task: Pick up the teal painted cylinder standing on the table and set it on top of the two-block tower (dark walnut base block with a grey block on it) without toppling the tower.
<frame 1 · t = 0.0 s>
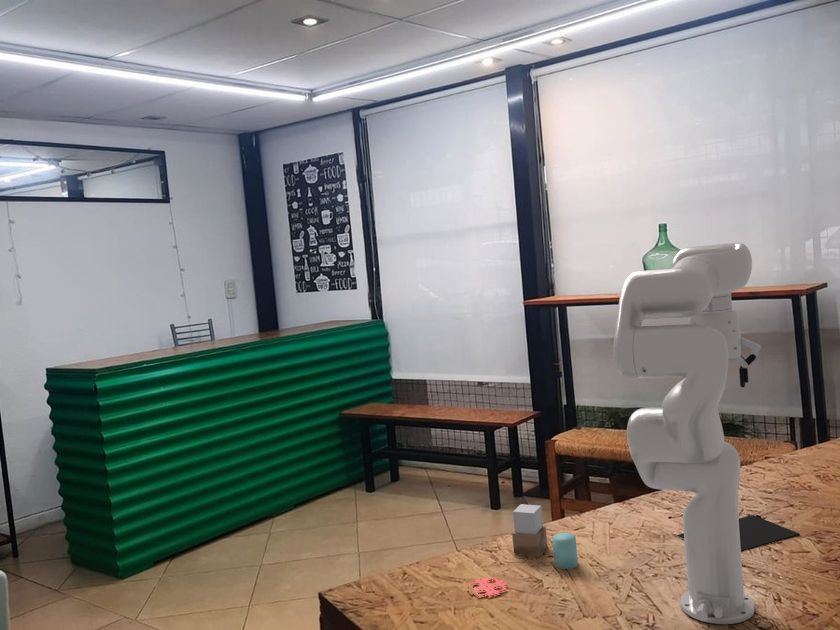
hand: (717, 386, 151), 37 cm above the table, tool pointing down, fingers open, 9 cm apart
teal cylinder: (566, 564, 158), on the table
grey top block: (529, 529, 167), point 5 cm above the table, touching walnut base block
walnut base block: (530, 550, 167), on the table, touching grey top block
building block: (487, 591, 150), on the table
black flat plate: (735, 538, 164), on the table
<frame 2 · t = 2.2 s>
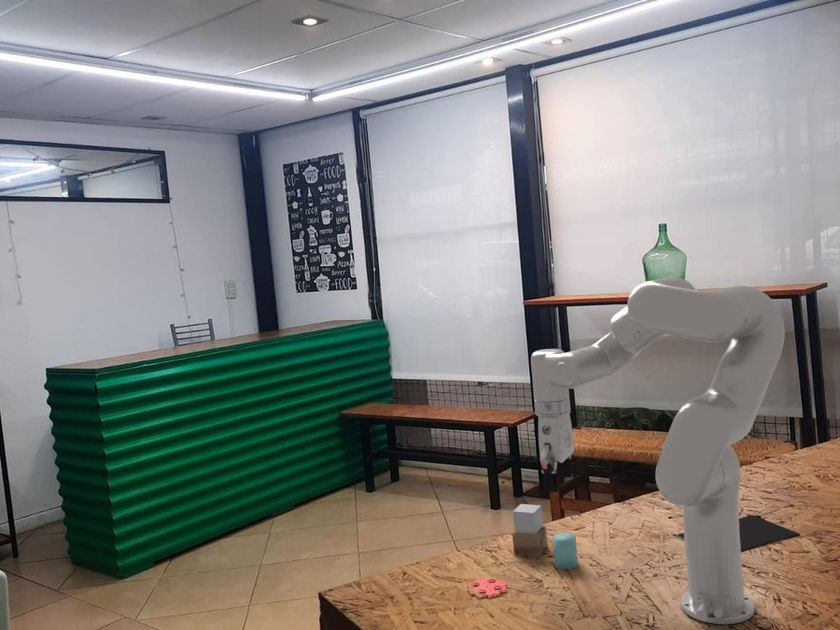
hand: (558, 483, 157), 18 cm above the table, tool pointing down, fingers open, 9 cm apart
nothing on the table moved.
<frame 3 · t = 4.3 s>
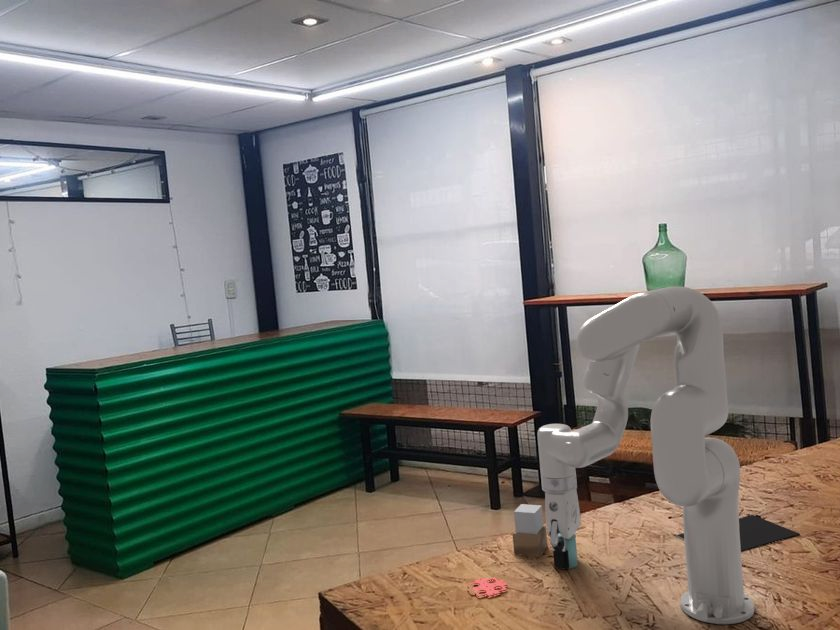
hand: (565, 561, 158), 0 cm above the table, tool pointing down, fingers closed on teal cylinder, 4 cm apart
teal cylinder: (566, 563, 158), on the table, touching gripper
everything else where it was.
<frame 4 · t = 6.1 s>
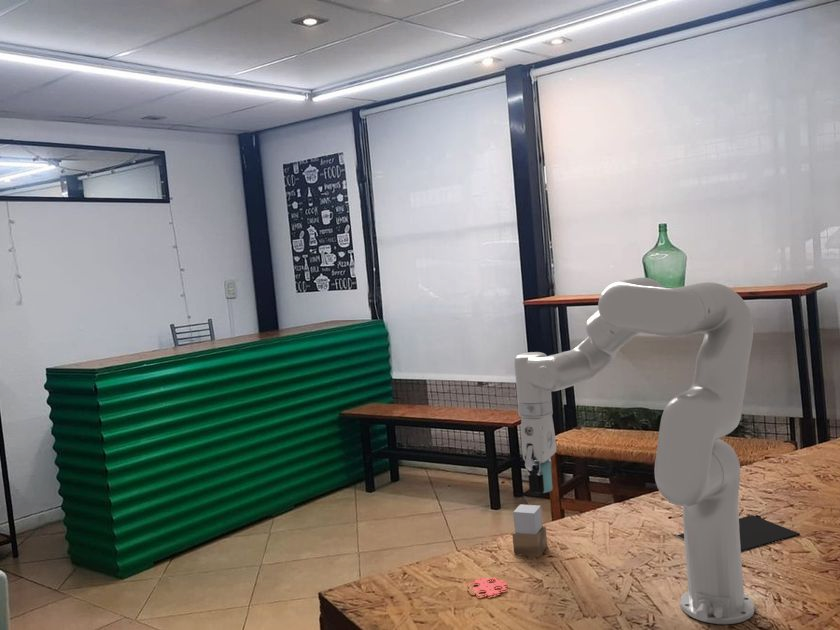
hand: (541, 487, 161), 16 cm above the table, tool pointing down, fingers closed on teal cylinder, 4 cm apart
teal cylinder: (541, 489, 161), point 16 cm above the table, touching gripper
everything else where it was.
when the fingers open (11 cm above the table, at t = 7.7 s): teal cylinder stays where it is, resting on grey top block.
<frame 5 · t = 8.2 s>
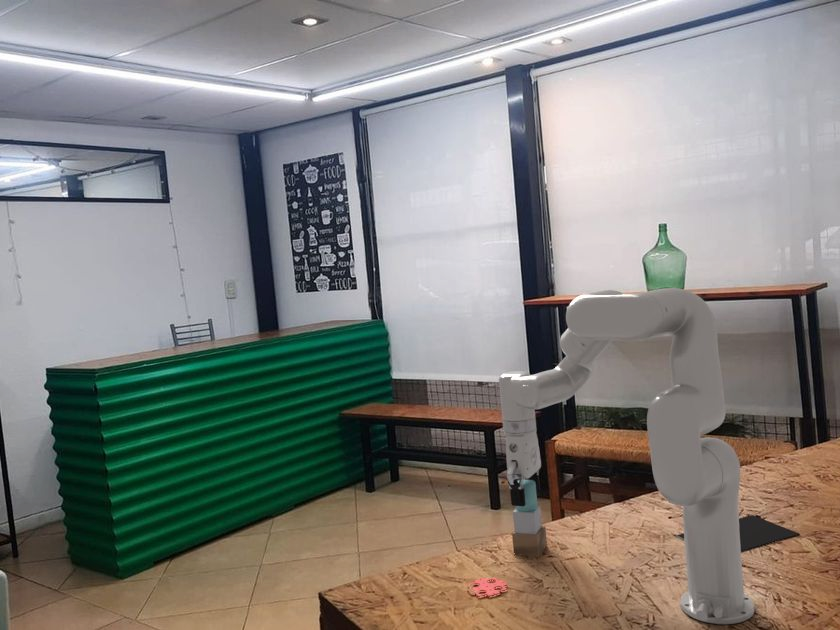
hand: (526, 498, 166), 12 cm above the table, tool pointing down, fingers open, 9 cm apart
teal cylinder: (526, 508, 167), point 10 cm above the table, touching grey top block
grey top block: (528, 529, 167), point 5 cm above the table, touching teal cylinder, walnut base block
everything else where it was.
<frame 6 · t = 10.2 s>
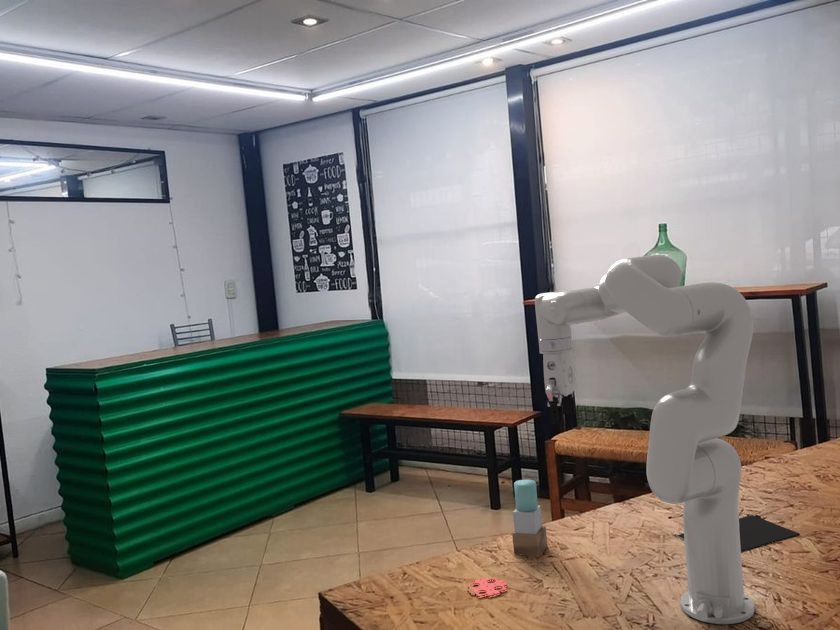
hand: (562, 418, 167), 30 cm above the table, tool pointing down, fingers open, 9 cm apart
nothing on the table moved.
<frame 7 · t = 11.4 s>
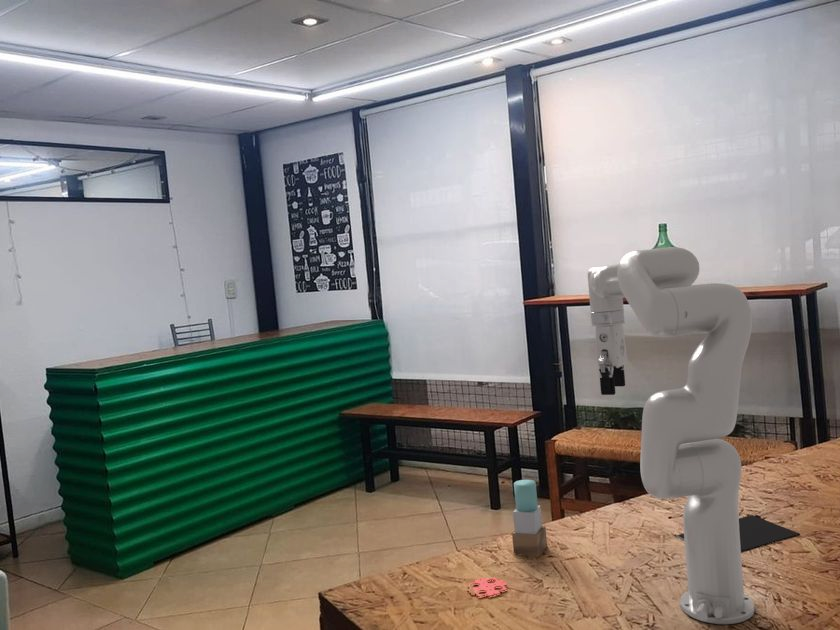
hand: (613, 390, 170), 34 cm above the table, tool pointing down, fingers open, 9 cm apart
nothing on the table moved.
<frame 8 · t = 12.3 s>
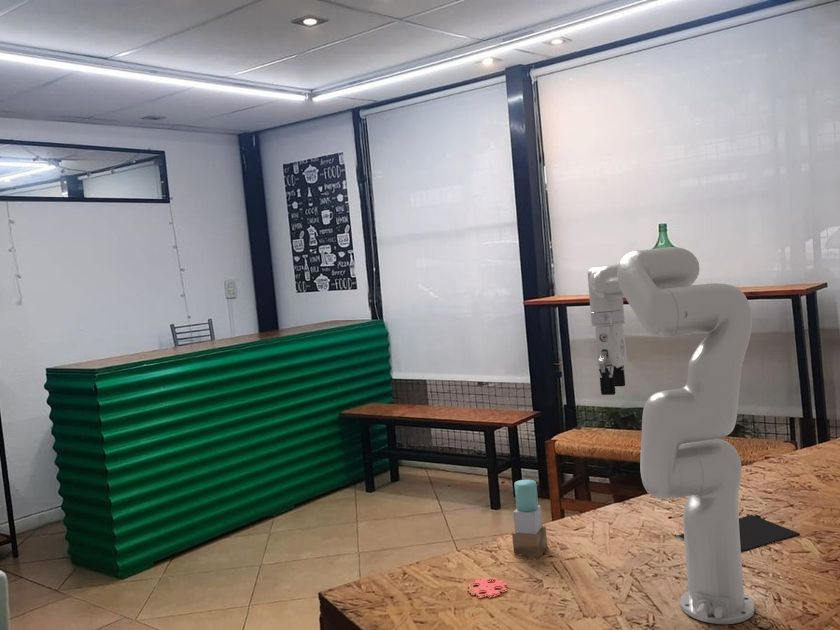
hand: (613, 390, 170), 34 cm above the table, tool pointing down, fingers open, 9 cm apart
grey top block: (528, 529, 167), point 5 cm above the table, touching teal cylinder
walnut base block: (530, 550, 167), on the table
everything else where it was.
at the end: teal cylinder 0.2 cm off-centre on the grey top block, point 5.0 cm above the grey top block's base; grey top block 0.1 cm off-centre on the walnut base block, point 5.0 cm above the walnut base block's base; teal cylinder tilted 1° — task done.
